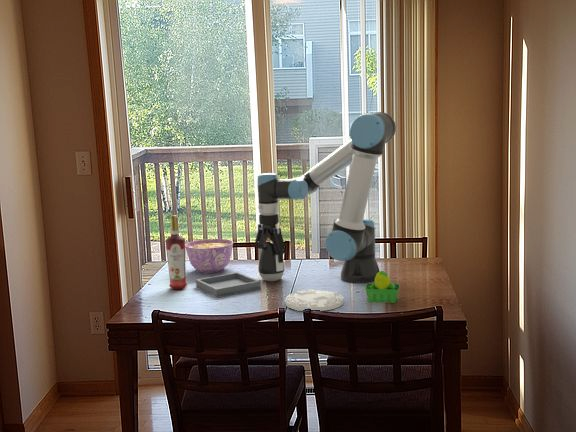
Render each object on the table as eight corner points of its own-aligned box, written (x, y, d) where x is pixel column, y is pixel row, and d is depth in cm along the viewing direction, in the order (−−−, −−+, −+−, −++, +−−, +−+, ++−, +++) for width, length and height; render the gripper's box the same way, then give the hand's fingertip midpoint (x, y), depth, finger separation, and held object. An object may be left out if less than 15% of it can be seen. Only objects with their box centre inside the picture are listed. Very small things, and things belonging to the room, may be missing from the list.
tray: (260, 288, 271) (260, 281, 271) (216, 297, 262) (216, 289, 262) (238, 279, 287) (237, 272, 286) (196, 287, 278) (195, 279, 277)
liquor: (168, 291, 273) (163, 218, 268) (168, 286, 280) (163, 214, 275) (188, 290, 274) (183, 216, 269) (187, 285, 281) (183, 213, 277)
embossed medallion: (350, 310, 242) (350, 301, 241) (292, 316, 238) (292, 307, 237) (334, 294, 261) (334, 286, 261) (280, 299, 257) (280, 291, 257)
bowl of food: (228, 276, 292) (226, 248, 290) (180, 276, 295) (178, 248, 294) (239, 265, 311) (238, 238, 309) (194, 265, 315) (193, 238, 313)
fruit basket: (400, 298, 252) (400, 266, 250) (398, 305, 244) (398, 272, 242) (367, 297, 255) (366, 265, 253) (364, 304, 246) (363, 271, 244)
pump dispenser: (253, 280, 284) (251, 242, 281) (271, 275, 291) (269, 238, 289) (271, 284, 277) (270, 245, 274) (290, 278, 284) (288, 240, 282)
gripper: (244, 210, 288) (247, 263, 292) (276, 218, 267) (278, 275, 271) (261, 208, 292) (263, 260, 296) (294, 216, 271) (296, 272, 275)
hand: (271, 267), depth 283 cm, fingers open, 13 cm apart
